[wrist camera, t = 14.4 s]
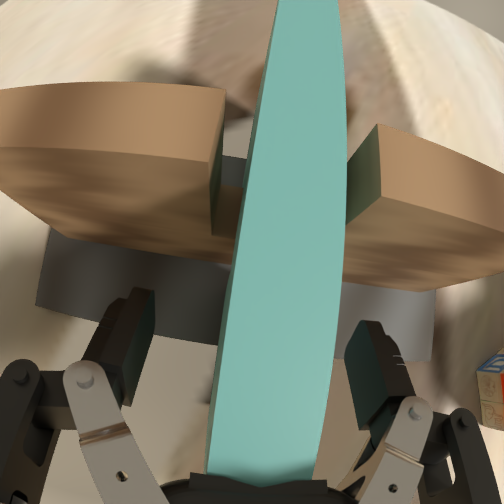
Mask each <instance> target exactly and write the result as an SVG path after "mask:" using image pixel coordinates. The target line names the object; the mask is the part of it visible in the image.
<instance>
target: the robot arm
mask: <svg viewBox="0 0 504 504" xmlns="http://www.w3.org/2000/svg"><path fill="white" fill-rule="evenodd" d="M154 330H155V292H154V290H152V289H147V288H141V287H136V286H134V287H133V288H132V290H131V292H130V294H129V296H128V298H127V299H124V298H119V297H118V298H117V299H116V300H115V301H114V302H112V303H111V304H110V305H109V306H108V307H107V309H106V311H105V313H104V315H103V318H102V319H101V321H100V323H99V326H98V327H97V329H96V331H95V333H94V335H93V337H92V339H91V341H90V343H89V345H88V347H87V349H86V351H85V353H84V355H83V357H82V359H81V360H80V361H78V362H75V363H73V364H71V365H70V366H69V367H68V368H67V369H66V370H63V371H39V369H38V367H37V365H36V364H35V363H33V362H32V361H30V360H27V359H19V360H15V361H13V362H11V363H10V364H9V365H8V366H7V367H6V368H5V370H4V372H3V374H2V376H1V377H0V504H39V503H40V499H41V495H42V492H43V488H44V484H45V480H46V477H47V473H48V470H49V466H50V463H51V460H52V456H53V453H54V450H55V447H56V444H57V441H58V438H59V435H60V431H61V429H64V430H65V429H66V430H77V431H78V434H79V437H80V440H79V443H80V447H81V450H82V453H83V455H84V458H85V460H86V463H87V465H88V468H89V470H90V473H91V475H92V478H93V480H94V482H95V485H96V487H97V489H98V491H99V494H100V496H101V498H102V500H103V502H104V504H410V503H411V500H412V498H413V496H414V493H415V491H416V488H418V493H419V499H420V504H502V503H501V499H500V495H499V491H498V487H497V483H496V479H495V476H494V472H493V469H492V465H491V462H490V459H489V455H488V452H487V449H486V446H485V443H484V440H483V437H482V434H481V431H480V428H479V425H478V423H477V420H476V418H475V416H474V415H473V414H472V413H471V412H470V411H469V410H467V409H465V408H457V409H455V410H454V411H453V412H452V413H451V414H450V415H446V414H442V413H437V412H433V411H432V408H431V407H430V405H429V404H428V403H427V402H426V401H425V400H424V399H422V398H420V397H417V396H416V394H415V391H414V388H413V385H412V383H411V380H410V377H409V374H408V372H407V369H406V366H404V364H405V363H404V361H403V358H402V357H401V353H400V350H399V348H398V345H397V344H396V343H395V341H394V340H393V339H392V338H391V337H390V335H386V334H385V332H384V329H383V327H382V324H381V323H380V322H379V321H370V320H361V321H359V323H358V325H357V327H356V329H355V331H354V332H353V334H352V336H351V338H350V340H349V342H348V344H347V346H346V348H345V353H344V361H345V366H346V370H347V375H348V380H349V384H350V389H351V393H352V398H353V403H354V408H355V413H356V418H357V423H358V428H359V430H370V434H371V435H370V436H369V437H368V439H367V440H366V442H365V444H364V446H363V448H362V449H361V451H360V453H359V455H358V457H357V458H356V460H355V462H354V464H353V465H352V467H351V469H350V471H349V472H348V474H347V475H346V477H345V478H344V479H343V480H342V481H341V482H340V483H339V485H338V486H337V487H336V488H335V489H333V488H330V487H327V480H295V481H290V482H286V483H281V484H277V485H272V486H267V487H257V486H253V485H250V484H246V483H243V482H240V481H237V480H233V479H230V478H227V477H222V476H213V475H206V474H198V473H192V472H190V479H181V480H176V481H171V482H168V483H165V484H163V485H160V486H159V485H158V483H157V481H156V480H155V478H154V476H153V474H152V472H151V471H150V469H149V467H148V465H147V463H146V461H145V459H144V457H143V456H142V454H141V451H140V450H139V448H138V446H137V444H136V441H135V439H134V437H133V435H132V433H131V431H130V429H129V427H128V426H127V425H126V423H125V421H124V418H123V416H122V414H121V411H120V410H121V407H122V405H125V406H129V407H131V405H132V401H133V398H134V395H135V391H136V388H137V385H138V382H139V378H140V375H141V372H142V369H143V366H144V362H145V359H146V356H147V353H148V350H149V347H150V344H151V341H152V338H153V334H154ZM448 456H450V457H451V460H452V464H453V468H454V472H455V482H454V484H452V480H451V476H450V472H449V468H448V464H447V460H446V458H447V457H448Z"/></svg>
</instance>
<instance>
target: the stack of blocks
mask: <svg viewBox="0 0 504 504" xmlns="http://www.w3.org/2000/svg"><path fill="white" fill-rule="evenodd" d="M476 373H477V380H478V387H479V394H480V399H481V400H480V404H481V412H482V421H483V426H485V427H488V428H492V429H496V430H501V431H504V348H503V349H501V350H500V351H499V352H498V353H497V354H496V355H495V356H493V357H492V358H491V359H490V360H488V361H487V362H486V363H485V364H483V365H482V366H481V367H480V368H478V369H477V370H476Z"/></svg>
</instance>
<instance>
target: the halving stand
mask: <svg viewBox="0 0 504 504" xmlns="http://www.w3.org/2000/svg"><path fill="white" fill-rule="evenodd" d="M225 99H226V89H218V88H210V87H201V86H191V85H179V84H166V83H147V82H75V83H57V84H45V85H34V86H25V87H17V88H9V89H2V90H0V190H1V191H2V192H3V193H5V194H6V195H7V196H9V197H10V198H11V199H13V200H14V201H15V202H17V203H18V204H20V205H21V206H22V207H24V208H25V209H26V210H28V211H29V212H31V213H32V214H34V215H35V216H36V217H38V218H39V219H41V220H42V221H44V222H45V223H46V224H48V225H49V226H51V227H52V229H51V232H50V236H49V240H48V244H47V248H46V252H45V257H44V261H43V266H42V270H41V275H40V280H39V286H38V291H37V297H36V303H35V305H36V306H39V307H43V308H46V309H50V310H53V311H57V312H60V313H64V314H68V315H71V316H75V317H79V318H83V319H87V320H91V321H95V322H99V323H100V321H101V319H102V318H103V315H104V313H105V311H106V309H107V307H108V306H109V305H110V304H111V303H112V302H114V301H115V300H116V299H117V298H118V297H119V298H124V299H127V298H128V296H129V294H130V292H131V290H132V288H133V287H134V286H136V287H141V288H147V289H152V290H154V292H155V330H154V335H159V336H165V337H170V338H175V339H181V340H186V341H192V342H198V343H204V344H211V345H217V346H218V342H219V335H220V328H221V321H222V314H223V307H224V301H225V294H226V288H227V284H228V279H229V275H230V271H231V265H232V258H233V252H234V245H235V239H236V232H237V226H238V220H239V213H240V207H241V201H242V195H243V189H244V188H242V186H243V179H244V173H245V167H246V162H247V159H243V158H237V157H231V156H224V155H222V151H223V133H224V115H225ZM501 272H504V174H503V173H501V172H499V171H497V170H495V169H493V168H491V167H489V166H487V165H485V164H482V163H480V162H478V161H476V160H474V159H472V158H469V157H467V156H465V155H462V154H460V153H458V152H455V151H453V150H451V149H448V148H446V147H443V146H441V145H438V144H436V143H433V142H431V141H428V140H426V139H423V138H420V137H417V136H415V135H412V134H409V133H406V132H403V131H400V130H398V129H395V128H392V127H389V126H385V125H382V124H379V123H377V124H376V125H375V127H374V128H373V129H372V131H371V132H370V133H369V135H368V136H367V137H366V139H365V140H364V141H363V143H362V144H361V145H360V147H359V148H358V149H357V150H356V152H355V153H354V154H353V156H352V157H351V158H350V160H349V161H348V162H347V187H346V219H345V240H344V257H343V271H342V283H341V295H340V305H339V315H338V325H337V333H336V342H335V350H334V357H333V358H337V359H344V353H345V348H346V346H347V344H348V342H349V340H350V338H351V336H352V334H353V332H354V331H355V329H356V327H357V325H358V323H359V321H361V320H370V321H379V322H380V323H381V324H382V327H383V329H384V332H385V334H386V335H390V337H391V338H392V339H393V340H394V341H395V343H396V344H397V345H398V348H399V350H400V353H401V357H402V358H403V361H431V353H432V344H433V333H434V320H435V302H436V289H438V288H442V287H447V286H451V285H455V284H459V283H463V282H467V281H471V280H475V279H479V278H483V277H487V276H490V275H494V274H498V273H501Z"/></svg>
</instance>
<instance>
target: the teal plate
mask: <svg viewBox="0 0 504 504" xmlns="http://www.w3.org/2000/svg"><path fill="white" fill-rule="evenodd" d="M346 187H347V128H346V97H345V77H344V62H343V49H342V37H341V27H340V17H339V8H338V0H278V3H277V8H276V12H275V17H274V22H273V26H272V31H271V36H270V41H269V46H268V50H267V55H266V60H265V65H264V70H263V75H262V80H261V85H260V90H259V95H258V100H257V105H256V110H255V115H254V121H253V127H252V132H251V138H250V144H249V150H248V157H247V162H246V167H245V173H244V179H243V186H242V188H244V189H243V195H242V201H241V207H240V213H239V220H238V226H237V232H236V239H235V245H234V252H233V258H232V265H231V271H230V275H229V279H228V284H227V288H226V294H225V301H224V307H223V314H222V321H221V328H220V335H219V342H218V349H217V356H216V364H215V371H214V378H213V386H212V393H211V401H210V408H209V416H208V427H207V438H206V450H205V462H204V474H206V475H213V476H222V477H227V478H230V479H233V480H237V481H240V482H243V483H246V484H250V485H253V486H257V487H267V486H272V485H277V484H281V483H286V482H290V481H295V480H312V475H313V471H314V466H315V462H316V457H317V452H318V447H319V442H320V437H321V432H322V427H323V421H324V416H325V410H326V404H327V398H328V392H329V385H330V379H331V372H332V365H333V357H334V350H335V342H336V333H337V325H338V315H339V305H340V295H341V283H342V271H343V257H344V240H345V219H346Z"/></svg>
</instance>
